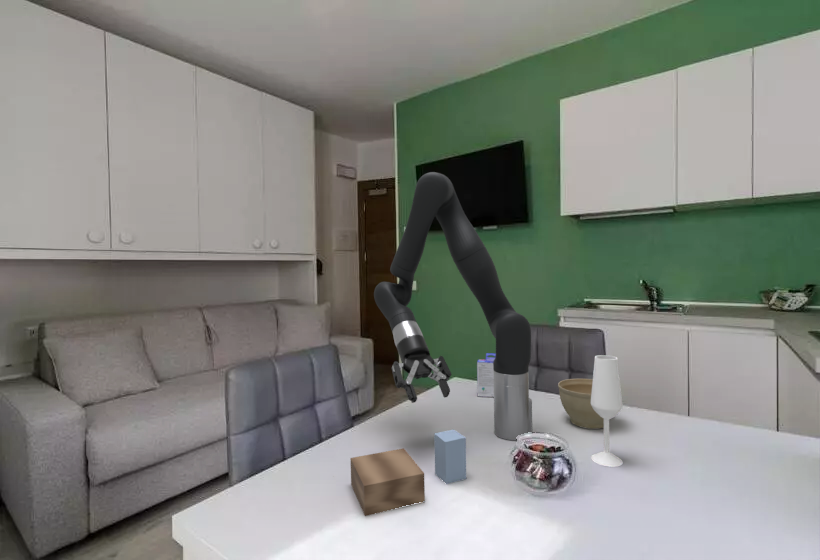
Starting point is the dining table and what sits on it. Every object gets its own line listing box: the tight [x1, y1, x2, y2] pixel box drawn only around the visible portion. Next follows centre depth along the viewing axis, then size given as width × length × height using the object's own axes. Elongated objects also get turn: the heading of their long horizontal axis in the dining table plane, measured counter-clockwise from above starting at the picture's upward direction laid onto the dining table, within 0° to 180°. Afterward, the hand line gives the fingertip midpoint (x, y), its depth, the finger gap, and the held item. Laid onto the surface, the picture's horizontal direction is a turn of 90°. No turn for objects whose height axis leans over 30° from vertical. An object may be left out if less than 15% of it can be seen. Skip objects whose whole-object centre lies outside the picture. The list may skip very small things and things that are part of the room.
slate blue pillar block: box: [433, 428, 467, 485], centre depth 90 cm, size 5×5×9 cm
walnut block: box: [349, 447, 426, 517], centre depth 84 cm, size 12×12×6 cm
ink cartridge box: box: [476, 352, 496, 398], centre depth 145 cm, size 10×6×14 cm, turn 78°
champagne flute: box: [590, 354, 624, 468], centre depth 96 cm, size 7×7×24 cm
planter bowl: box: [557, 378, 604, 430], centre depth 118 cm, size 16×16×11 cm
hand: (431, 398), depth 98 cm, fingers open, 8 cm apart
